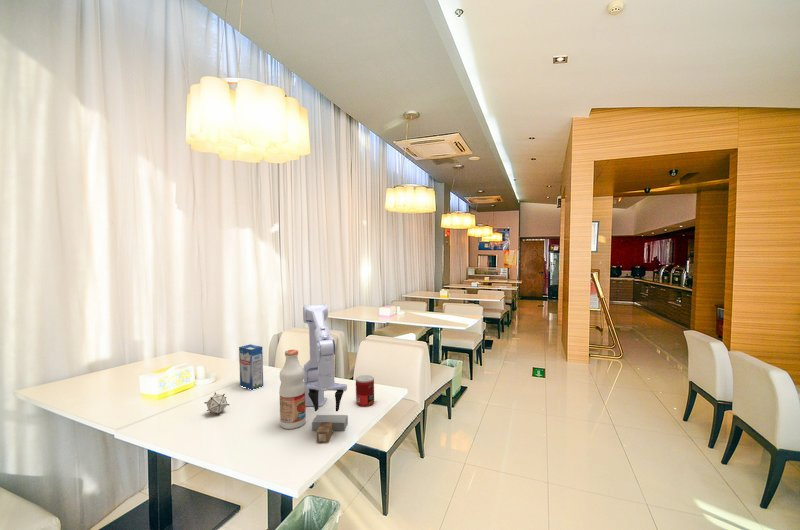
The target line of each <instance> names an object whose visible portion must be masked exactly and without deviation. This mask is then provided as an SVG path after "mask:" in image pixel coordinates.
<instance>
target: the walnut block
mask: <svg viewBox="0 0 800 530" xmlns="http://www.w3.org/2000/svg"><path fill="white" fill-rule="evenodd" d="M332 435H333V426H332V422H321V424H320V426H319V428H318V430H316V443H317V444H329V442H330V439H331V437H332Z"/></svg>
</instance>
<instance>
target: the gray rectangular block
mask: <svg viewBox="0 0 800 530" xmlns="http://www.w3.org/2000/svg"><path fill="white" fill-rule="evenodd" d="M348 418H349V417H348V414H316V416H315V417H314V419H313V420H312V422H311V429H312V430H311V431H317V430H318V428H319V426H320V424H321V422H332V426H333V431H337V432H338V431H339V432H340V431H341V432H343V431H345V430H346V429H347V426H348V423H349V421H348V420H349V419H348Z"/></svg>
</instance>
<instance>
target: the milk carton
mask: <svg viewBox="0 0 800 530" xmlns="http://www.w3.org/2000/svg"><path fill="white" fill-rule="evenodd" d="M238 348H239V349H238V353H239V354H238V355H239V359H238V360H239V361H238V362H239V386H240V385H241V386H243V387H246V388H249V389H251V390H253V389H256V388H258V389H260V388H259V387H261V388H263V387H264V365H263V364H264V360H263V357H264V356H263V352H264V351H263V346H260V345H256V344H247V345H246V344H245V345H243V346H239V347H238ZM262 386H263V387H262ZM251 390H250V391H251ZM256 390H257V389H256ZM253 391H254V390H253Z"/></svg>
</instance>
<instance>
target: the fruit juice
mask: <svg viewBox="0 0 800 530" xmlns="http://www.w3.org/2000/svg"><path fill="white" fill-rule="evenodd" d="M298 356H299V350H298V349H287V350H285V351H284V357H285V362H284V365H283V367H282V368H281V370H280V372H279V380H280V385H279V419H280V420H279V424H280V426H281V428H283V429H285V430H292V429H297V428H300V427H302V426H303V425H305V423H306V419H307V417H306V416H307V415H306V414H307V413H306V412H307V411H306V408H307V406H306V405H305V384H304V367H303V366H302V365H301V364H300V362H299V357H298Z"/></svg>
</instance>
